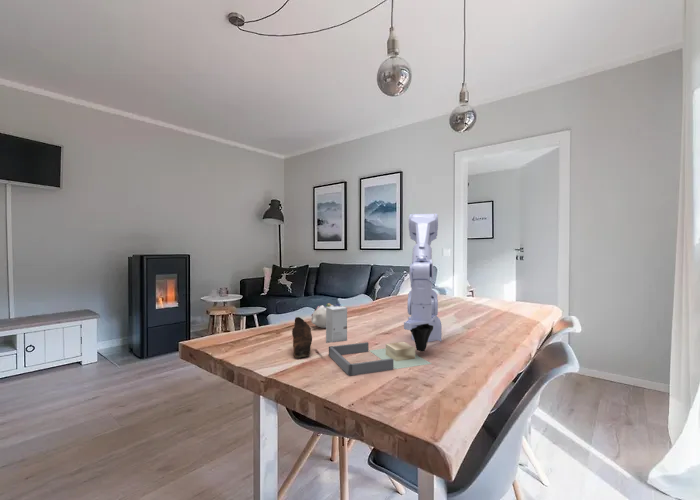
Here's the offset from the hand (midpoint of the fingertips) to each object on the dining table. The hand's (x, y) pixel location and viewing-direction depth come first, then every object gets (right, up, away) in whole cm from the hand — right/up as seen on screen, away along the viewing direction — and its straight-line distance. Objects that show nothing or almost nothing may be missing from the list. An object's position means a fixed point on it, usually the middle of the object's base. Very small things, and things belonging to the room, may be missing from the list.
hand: (421, 350), depth 96 cm
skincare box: (-25, -2, +15) cm, 29 cm away
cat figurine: (-31, -2, +38) cm, 49 cm away
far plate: (-7, -2, -3) cm, 8 cm away
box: (-18, -2, -7) cm, 19 cm away
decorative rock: (-35, -3, +6) cm, 36 cm away
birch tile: (-6, -1, -2) cm, 7 cm away
